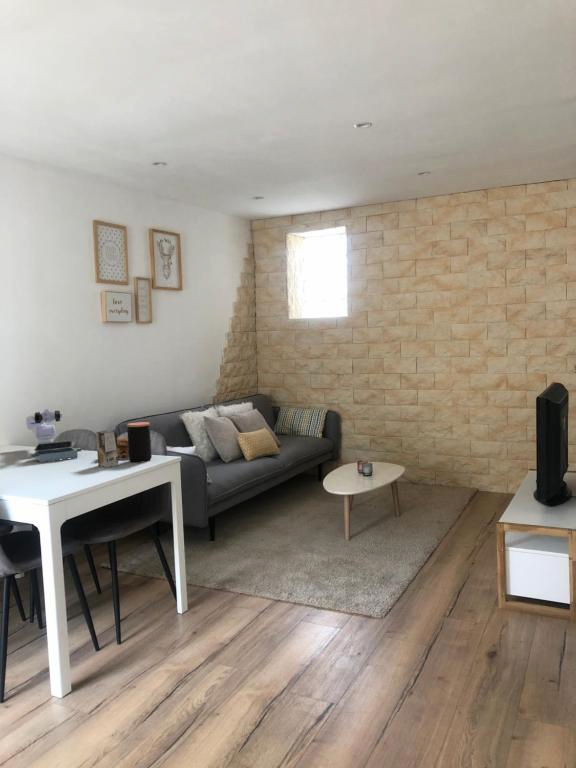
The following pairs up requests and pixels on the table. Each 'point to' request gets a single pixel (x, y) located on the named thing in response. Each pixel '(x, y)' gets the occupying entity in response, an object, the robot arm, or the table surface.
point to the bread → (122, 448)
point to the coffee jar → (139, 441)
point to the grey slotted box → (55, 454)
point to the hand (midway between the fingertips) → (49, 416)
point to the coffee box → (107, 448)
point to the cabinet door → (55, 444)
